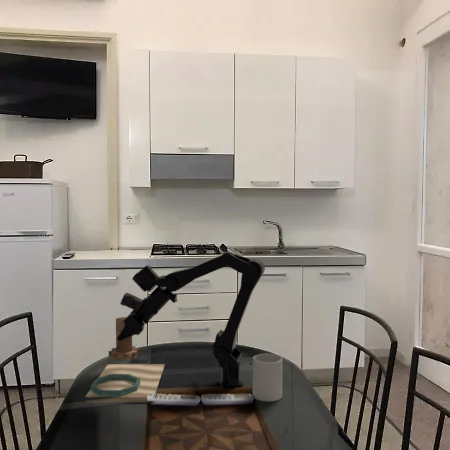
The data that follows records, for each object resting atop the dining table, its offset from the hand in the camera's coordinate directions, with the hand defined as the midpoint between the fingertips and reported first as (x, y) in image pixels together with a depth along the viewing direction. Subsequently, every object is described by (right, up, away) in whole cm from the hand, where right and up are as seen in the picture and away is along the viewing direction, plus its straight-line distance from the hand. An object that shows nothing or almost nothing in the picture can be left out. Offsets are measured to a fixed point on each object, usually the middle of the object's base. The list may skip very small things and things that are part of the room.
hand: (119, 337), depth 147 cm
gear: (+1, -6, 0) cm, 6 cm away
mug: (+45, -14, -11) cm, 49 cm away
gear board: (+4, -13, -5) cm, 14 cm away
